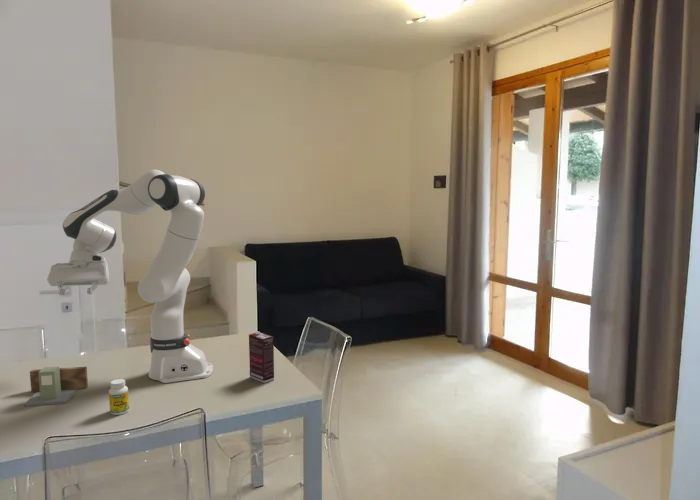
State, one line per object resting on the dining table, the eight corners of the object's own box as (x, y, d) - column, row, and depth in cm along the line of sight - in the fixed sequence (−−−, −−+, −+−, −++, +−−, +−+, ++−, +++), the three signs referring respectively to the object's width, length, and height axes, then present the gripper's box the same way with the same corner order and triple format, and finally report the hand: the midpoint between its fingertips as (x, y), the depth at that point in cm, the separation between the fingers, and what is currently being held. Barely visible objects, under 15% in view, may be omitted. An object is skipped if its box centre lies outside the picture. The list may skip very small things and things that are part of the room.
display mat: (75, 391, 171) (75, 389, 170) (66, 403, 162) (66, 400, 162) (36, 394, 168) (36, 392, 168) (24, 406, 160) (24, 403, 159)
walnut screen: (88, 386, 175) (86, 366, 174) (86, 388, 174) (85, 368, 173) (33, 390, 172) (31, 369, 171) (31, 391, 171) (29, 371, 170)
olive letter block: (61, 393, 168) (59, 366, 166) (55, 398, 163) (53, 371, 162) (46, 394, 167) (44, 367, 166) (40, 400, 162) (38, 372, 161)
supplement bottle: (127, 406, 160) (125, 376, 158) (131, 412, 155) (129, 382, 154) (108, 410, 157) (106, 380, 155) (111, 417, 152) (109, 386, 151)
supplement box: (275, 379, 181) (274, 336, 179) (264, 383, 178) (263, 339, 176) (260, 373, 187) (259, 331, 185) (249, 377, 184) (248, 334, 182)
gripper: (49, 258, 188) (40, 290, 180) (109, 257, 192) (103, 288, 184) (54, 268, 193) (46, 299, 185) (112, 267, 197) (107, 297, 189)
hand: (75, 293), depth 184 cm, fingers open, 8 cm apart
